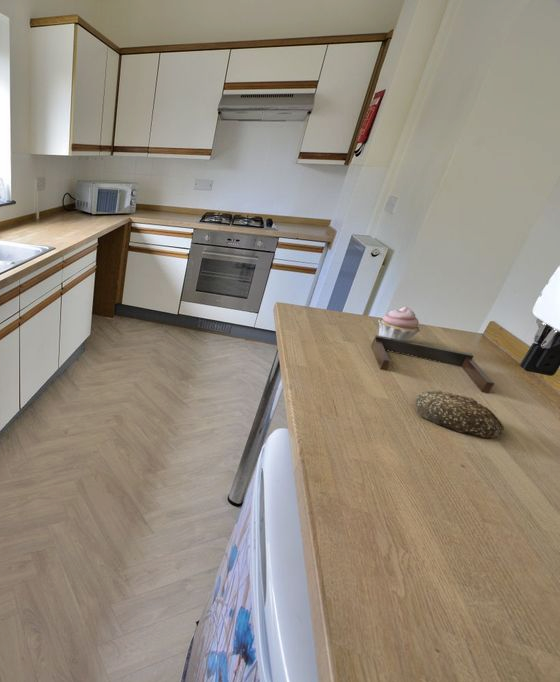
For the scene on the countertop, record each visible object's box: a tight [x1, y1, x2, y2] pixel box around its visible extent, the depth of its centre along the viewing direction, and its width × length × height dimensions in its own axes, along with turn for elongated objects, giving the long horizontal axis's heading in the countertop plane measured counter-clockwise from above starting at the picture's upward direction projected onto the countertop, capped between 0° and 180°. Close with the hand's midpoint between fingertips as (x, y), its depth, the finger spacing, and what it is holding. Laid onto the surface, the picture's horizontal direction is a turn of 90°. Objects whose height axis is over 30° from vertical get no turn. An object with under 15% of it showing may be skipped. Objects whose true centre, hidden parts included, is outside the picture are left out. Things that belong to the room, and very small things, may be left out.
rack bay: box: [371, 334, 495, 394], centre depth 98 cm, size 19×16×3 cm
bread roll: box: [415, 389, 505, 439], centre depth 78 cm, size 13×12×5 cm
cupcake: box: [377, 306, 421, 342], centre depth 111 cm, size 9×9×10 cm
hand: (535, 371), depth 61 cm, fingers closed
